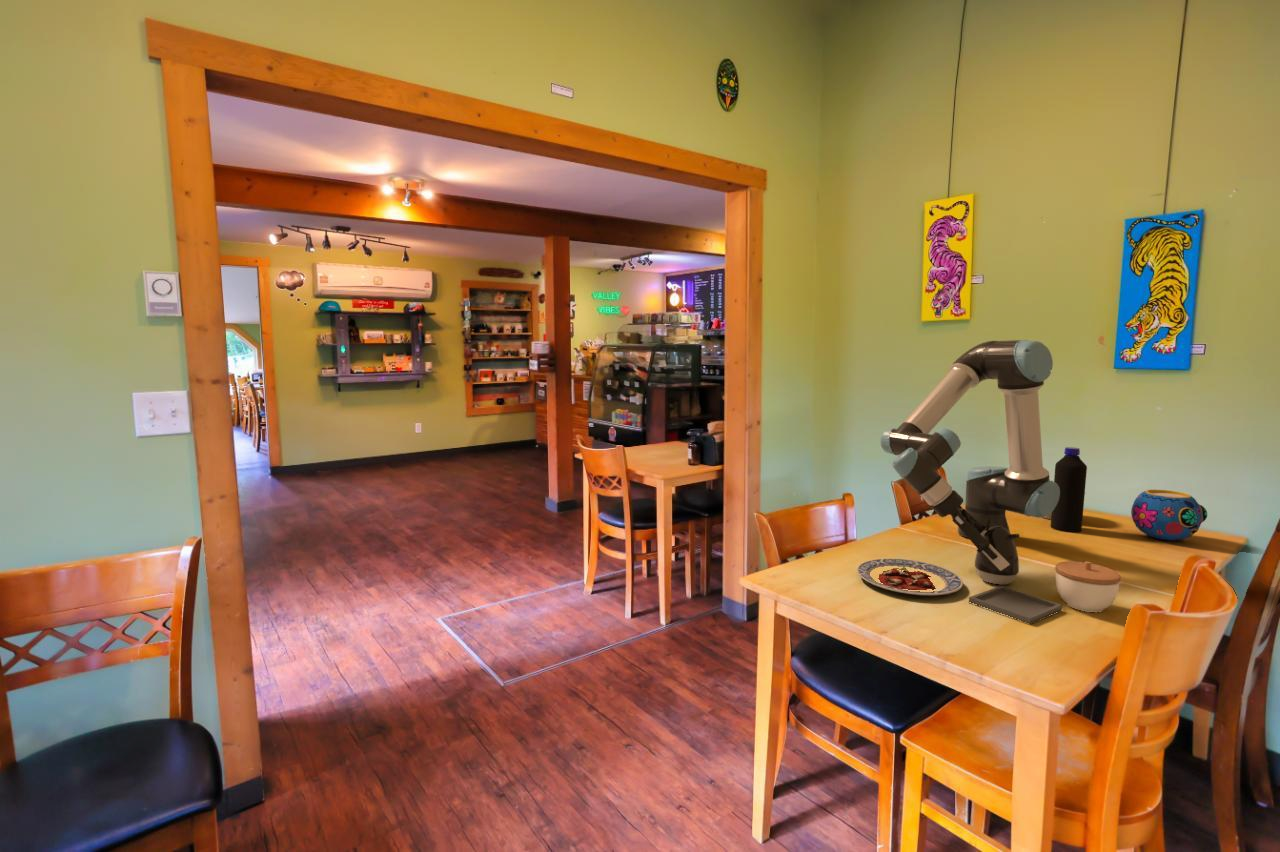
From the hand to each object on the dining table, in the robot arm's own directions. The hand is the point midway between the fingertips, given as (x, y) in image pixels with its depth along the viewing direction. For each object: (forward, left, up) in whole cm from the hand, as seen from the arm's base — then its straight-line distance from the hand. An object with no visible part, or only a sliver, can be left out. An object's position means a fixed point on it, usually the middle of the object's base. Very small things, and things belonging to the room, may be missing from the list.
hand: (1002, 559), depth 163 cm
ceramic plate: (-13, -20, -7) cm, 25 cm away
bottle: (-16, +69, -7) cm, 71 cm away
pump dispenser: (-1, 0, -7) cm, 7 cm away
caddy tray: (+10, -13, -6) cm, 18 cm away
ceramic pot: (+6, +84, -7) cm, 84 cm away
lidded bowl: (+19, +2, -7) cm, 20 cm away
